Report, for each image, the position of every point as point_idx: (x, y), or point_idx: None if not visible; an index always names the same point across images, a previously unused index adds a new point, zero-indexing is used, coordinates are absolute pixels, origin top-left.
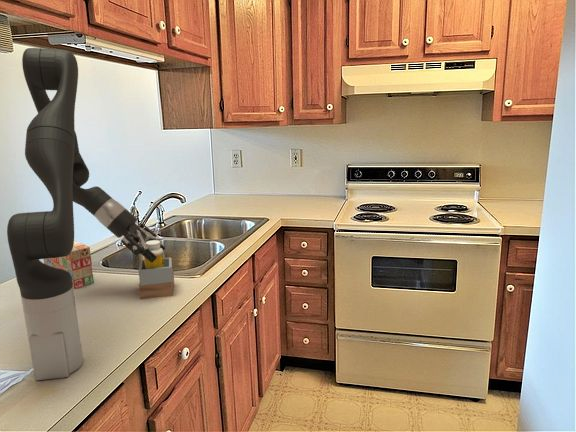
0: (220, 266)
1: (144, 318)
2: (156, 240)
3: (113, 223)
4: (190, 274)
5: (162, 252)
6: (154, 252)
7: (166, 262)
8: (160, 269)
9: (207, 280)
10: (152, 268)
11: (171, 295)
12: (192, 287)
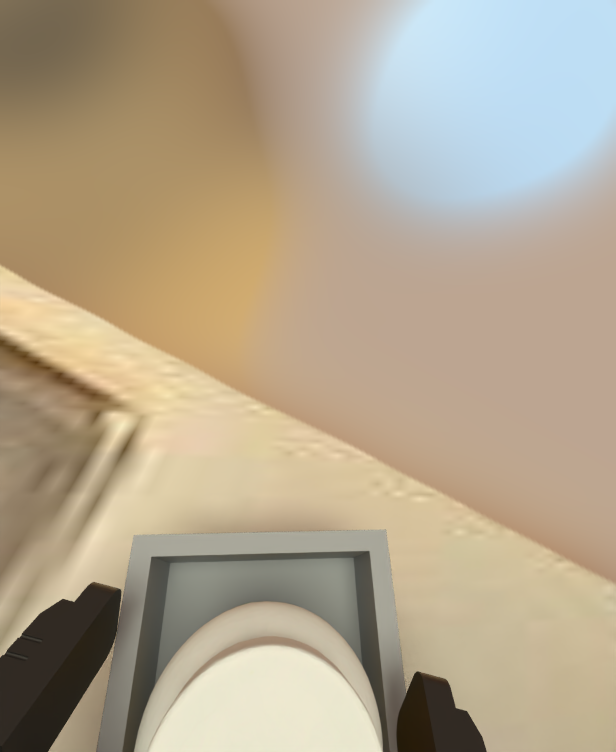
0: (42, 316)
1: (603, 709)
2: (179, 724)
3: None
4: (73, 458)
5: (300, 607)
6: (373, 719)
7: (156, 585)
8: (395, 627)
9: (201, 386)
10: (390, 714)
11: None
12: (265, 457)
